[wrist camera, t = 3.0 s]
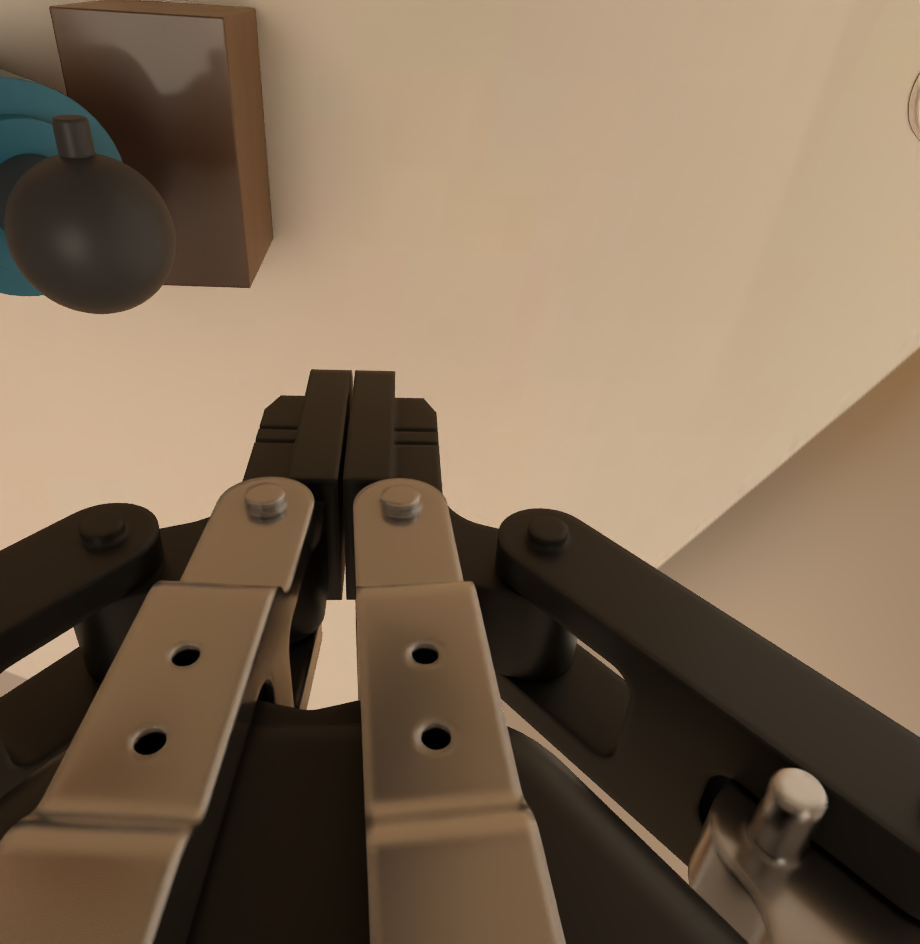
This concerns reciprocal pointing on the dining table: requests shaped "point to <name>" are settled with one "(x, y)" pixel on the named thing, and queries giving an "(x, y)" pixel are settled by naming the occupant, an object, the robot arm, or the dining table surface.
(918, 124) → the chess piece
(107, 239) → the striped banded cylinder
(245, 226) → the walnut block
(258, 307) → the dining table surface
